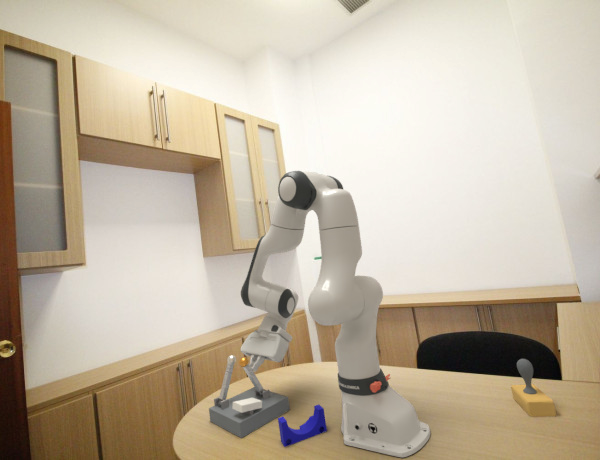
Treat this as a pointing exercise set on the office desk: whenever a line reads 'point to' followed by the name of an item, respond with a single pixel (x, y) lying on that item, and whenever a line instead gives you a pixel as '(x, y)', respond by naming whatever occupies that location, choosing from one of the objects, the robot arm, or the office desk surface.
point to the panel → (248, 412)
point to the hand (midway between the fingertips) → (251, 370)
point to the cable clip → (303, 428)
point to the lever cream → (226, 379)
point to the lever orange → (251, 375)
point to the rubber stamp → (531, 393)
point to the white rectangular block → (247, 405)
